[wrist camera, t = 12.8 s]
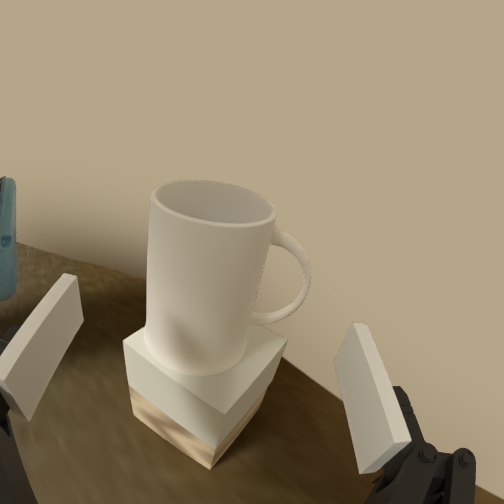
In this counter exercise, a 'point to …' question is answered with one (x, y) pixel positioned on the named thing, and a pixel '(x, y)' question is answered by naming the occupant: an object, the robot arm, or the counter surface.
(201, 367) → the mug
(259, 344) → the tower top
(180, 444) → the block
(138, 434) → the counter surface
